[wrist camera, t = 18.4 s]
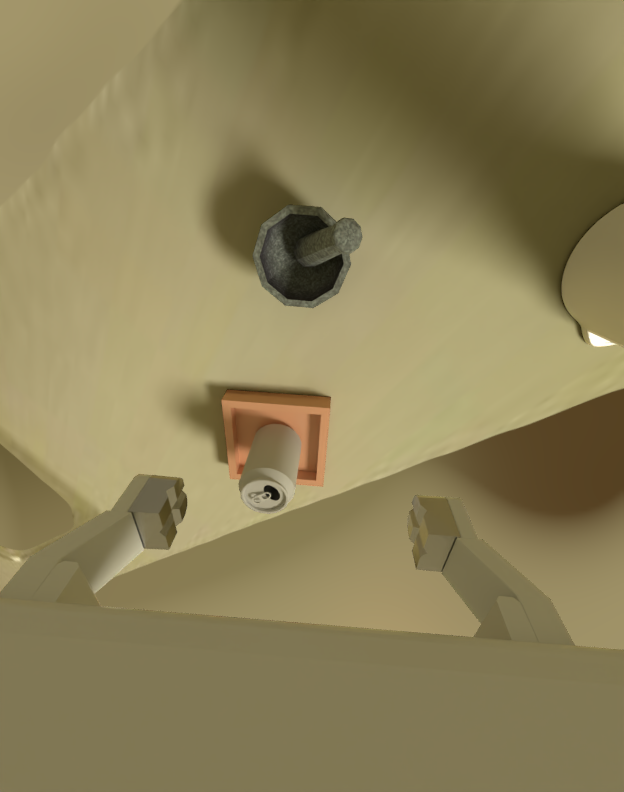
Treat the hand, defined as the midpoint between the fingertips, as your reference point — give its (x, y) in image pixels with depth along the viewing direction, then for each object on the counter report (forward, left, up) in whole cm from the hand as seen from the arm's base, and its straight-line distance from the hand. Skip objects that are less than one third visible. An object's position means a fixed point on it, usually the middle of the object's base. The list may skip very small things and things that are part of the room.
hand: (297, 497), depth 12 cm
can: (+6, +25, -33) cm, 42 cm away
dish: (+6, +24, -34) cm, 42 cm away
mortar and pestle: (+2, -4, -34) cm, 35 cm away
